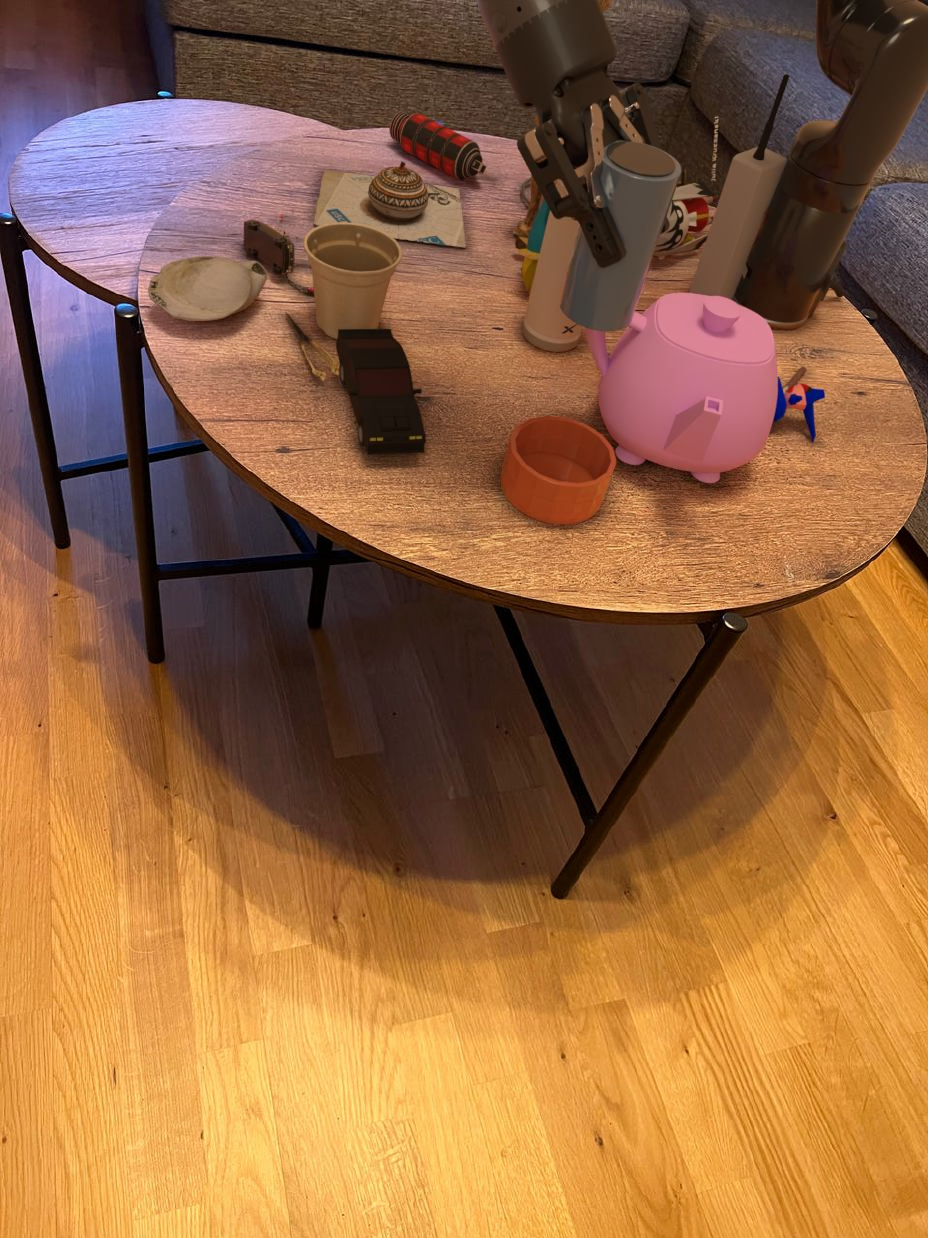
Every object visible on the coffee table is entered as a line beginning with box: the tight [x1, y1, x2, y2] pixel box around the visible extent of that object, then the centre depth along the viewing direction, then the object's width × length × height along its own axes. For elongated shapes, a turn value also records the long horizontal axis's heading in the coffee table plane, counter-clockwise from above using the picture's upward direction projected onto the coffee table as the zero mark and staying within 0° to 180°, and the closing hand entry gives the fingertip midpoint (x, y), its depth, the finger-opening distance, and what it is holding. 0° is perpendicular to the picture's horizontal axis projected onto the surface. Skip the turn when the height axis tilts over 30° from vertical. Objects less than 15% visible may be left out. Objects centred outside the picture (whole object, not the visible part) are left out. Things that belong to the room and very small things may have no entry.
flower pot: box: [303, 222, 403, 340], centre depth 97 cm, size 9×9×9 cm
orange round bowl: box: [500, 415, 617, 526], centre depth 87 cm, size 9×9×4 cm
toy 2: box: [653, 116, 719, 260], centre depth 119 cm, size 15×10×15 cm
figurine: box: [773, 376, 826, 443], centre depth 100 cm, size 5×8×5 cm, turn 86°
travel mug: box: [521, 166, 588, 353], centre depth 98 cm, size 6×7×20 cm
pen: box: [782, 365, 808, 393], centre depth 105 cm, size 11×1×1 cm, turn 146°
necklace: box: [285, 264, 314, 296], centre depth 104 cm, size 4×6×1 cm
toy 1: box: [514, 200, 550, 295], centre depth 110 cm, size 13×12×15 cm
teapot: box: [583, 292, 779, 484], centre depth 89 cm, size 20×20×15 cm
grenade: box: [388, 110, 497, 181], centre depth 126 cm, size 6×5×15 cm
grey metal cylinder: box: [559, 141, 682, 333], centre depth 73 cm, size 6×6×12 cm
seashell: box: [147, 255, 268, 322], centre depth 96 cm, size 12×8×5 cm
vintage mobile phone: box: [688, 73, 791, 300], centre depth 107 cm, size 4×5×25 cm
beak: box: [284, 311, 340, 382], centre depth 96 cm, size 12×3×1 cm, turn 25°
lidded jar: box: [313, 160, 467, 248], centre depth 116 cm, size 15×18×7 cm
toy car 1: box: [242, 214, 296, 275], centre depth 106 cm, size 4×12×8 cm
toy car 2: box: [335, 328, 427, 456], centre depth 90 cm, size 7×16×5 cm, turn 15°
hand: (636, 247), depth 73 cm, fingers closed on grey metal cylinder, 6 cm apart
